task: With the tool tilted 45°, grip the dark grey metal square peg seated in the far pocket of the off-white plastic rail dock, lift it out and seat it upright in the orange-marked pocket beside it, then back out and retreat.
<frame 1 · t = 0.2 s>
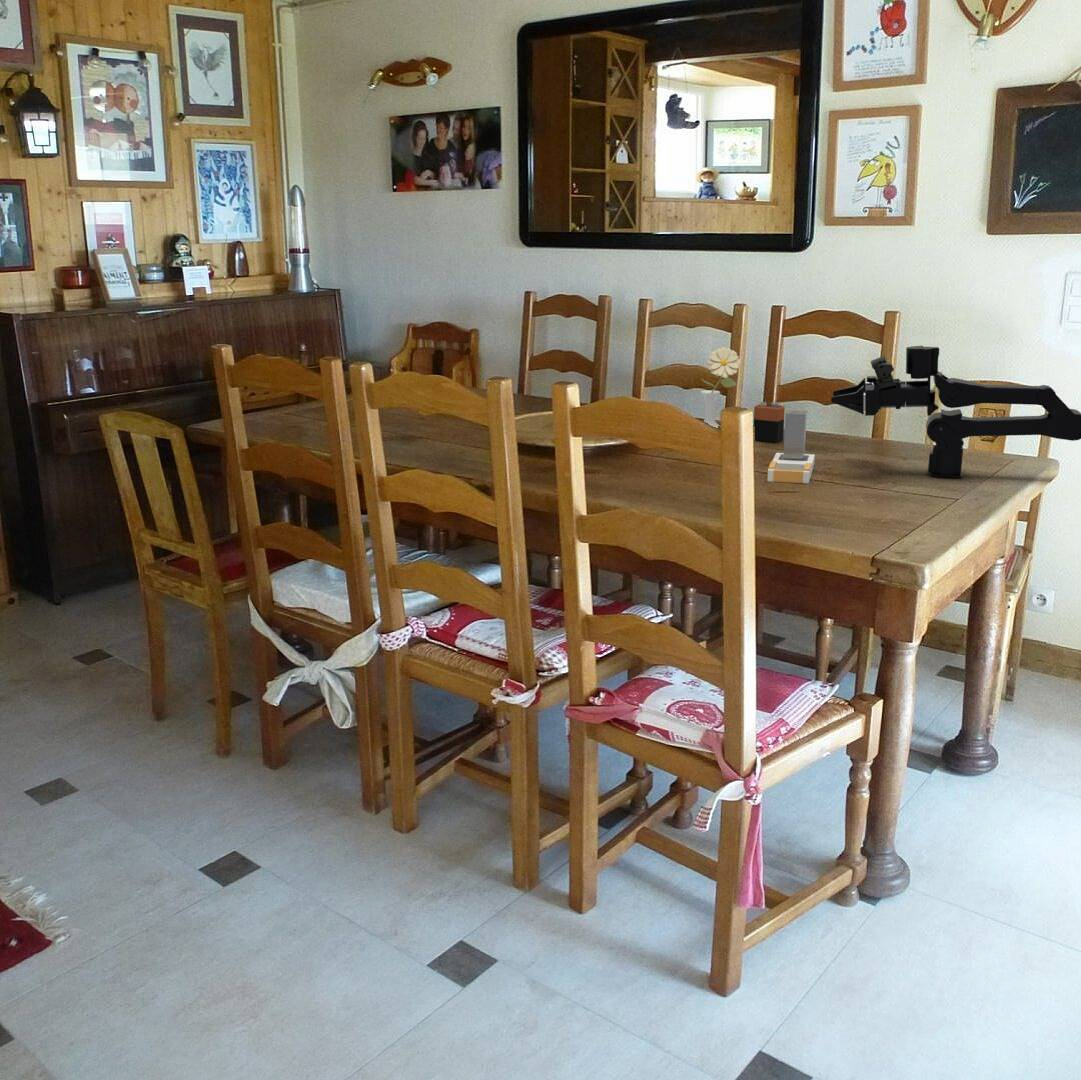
hand: (832, 396, 241), 17 cm above the table, tool horizontal, fingers open, 9 cm apart
battery: (767, 441, 278), on the table
flower in vase: (712, 446, 273), on the table
rail dock: (791, 472, 243), on the table
metal peg: (793, 468, 247), resting in rail dock
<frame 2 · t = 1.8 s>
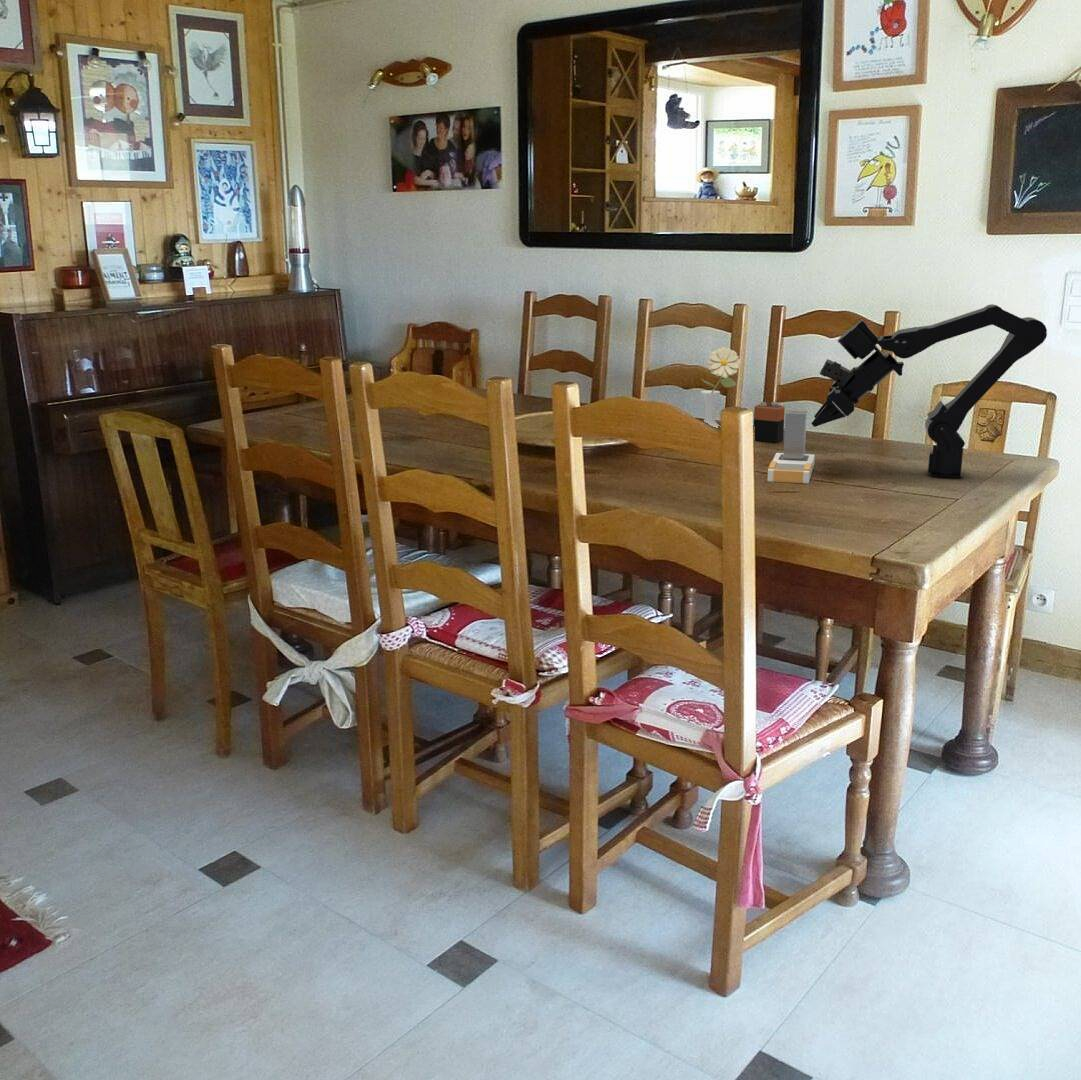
hand: (814, 421, 243), 11 cm above the table, tool tilted 45°, fingers open, 9 cm apart
nothing on the table moved.
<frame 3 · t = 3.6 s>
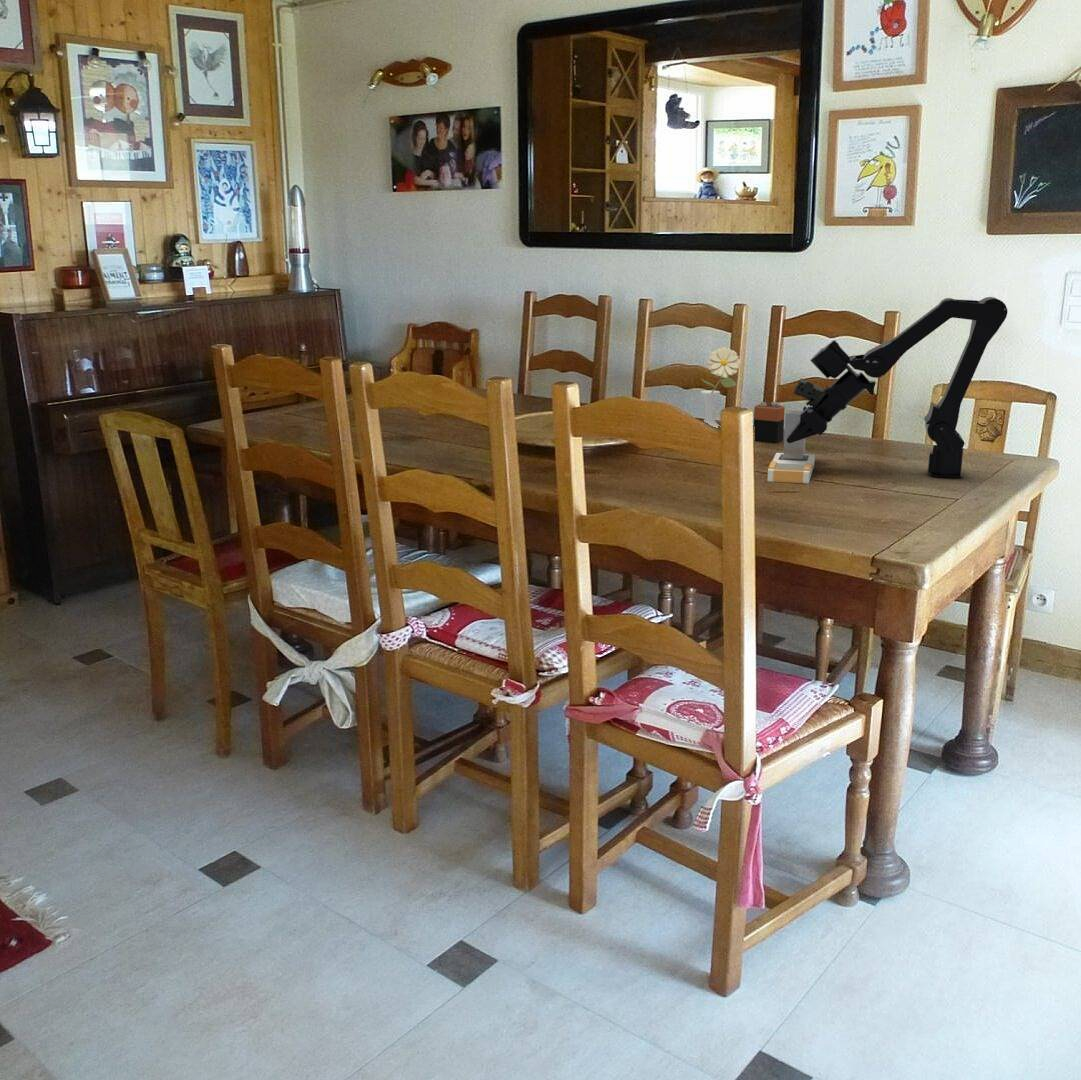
hand: (788, 439, 246), 7 cm above the table, tool tilted 45°, fingers closed on metal peg, 4 cm apart
metal peg: (793, 468, 247), resting in rail dock, touching gripper
everything else where it was.
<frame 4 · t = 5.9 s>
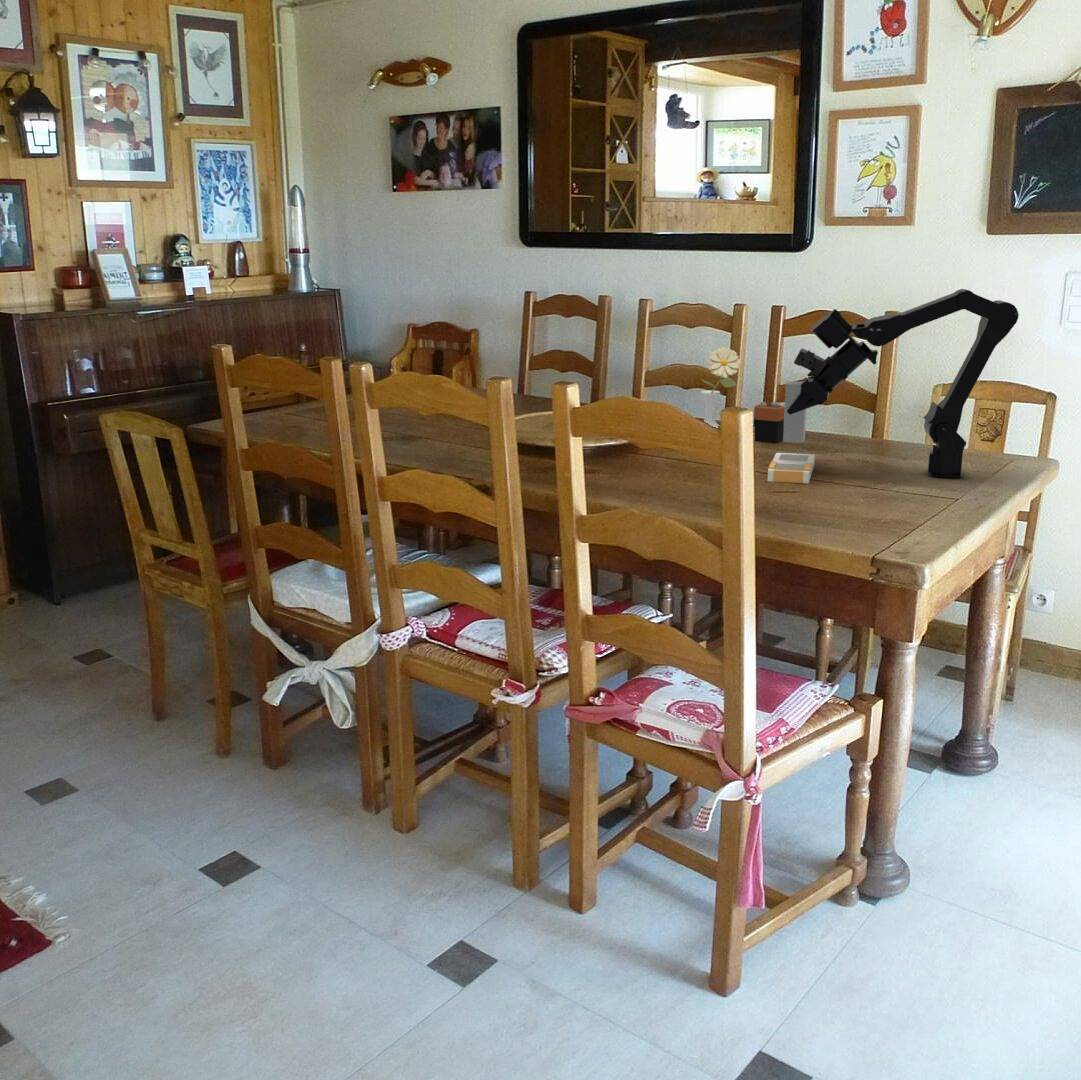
hand: (789, 411, 242), 14 cm above the table, tool tilted 45°, fingers closed on metal peg, 4 cm apart
metal peg: (794, 440, 243), point 7 cm above the table, touching gripper
everything else where it was.
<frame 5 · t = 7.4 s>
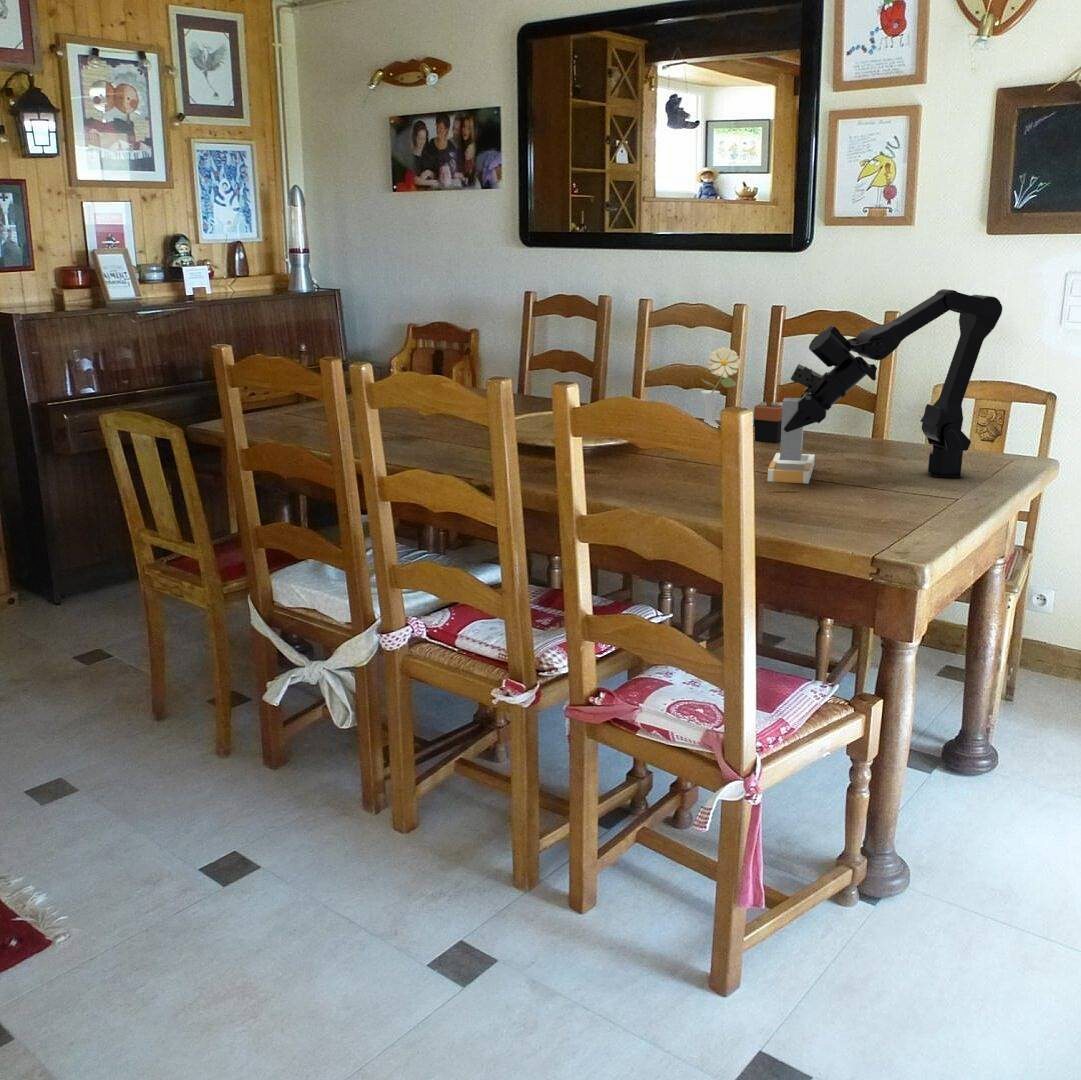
hand: (786, 428, 235), 11 cm above the table, tool tilted 45°, fingers closed on metal peg, 4 cm apart
metal peg: (791, 458, 237), point 4 cm above the table, touching gripper
everything else where it was.
when the fingers open (7 cm above the table, at t = 8.5 s): metal peg stays where it is, resting in rail dock.
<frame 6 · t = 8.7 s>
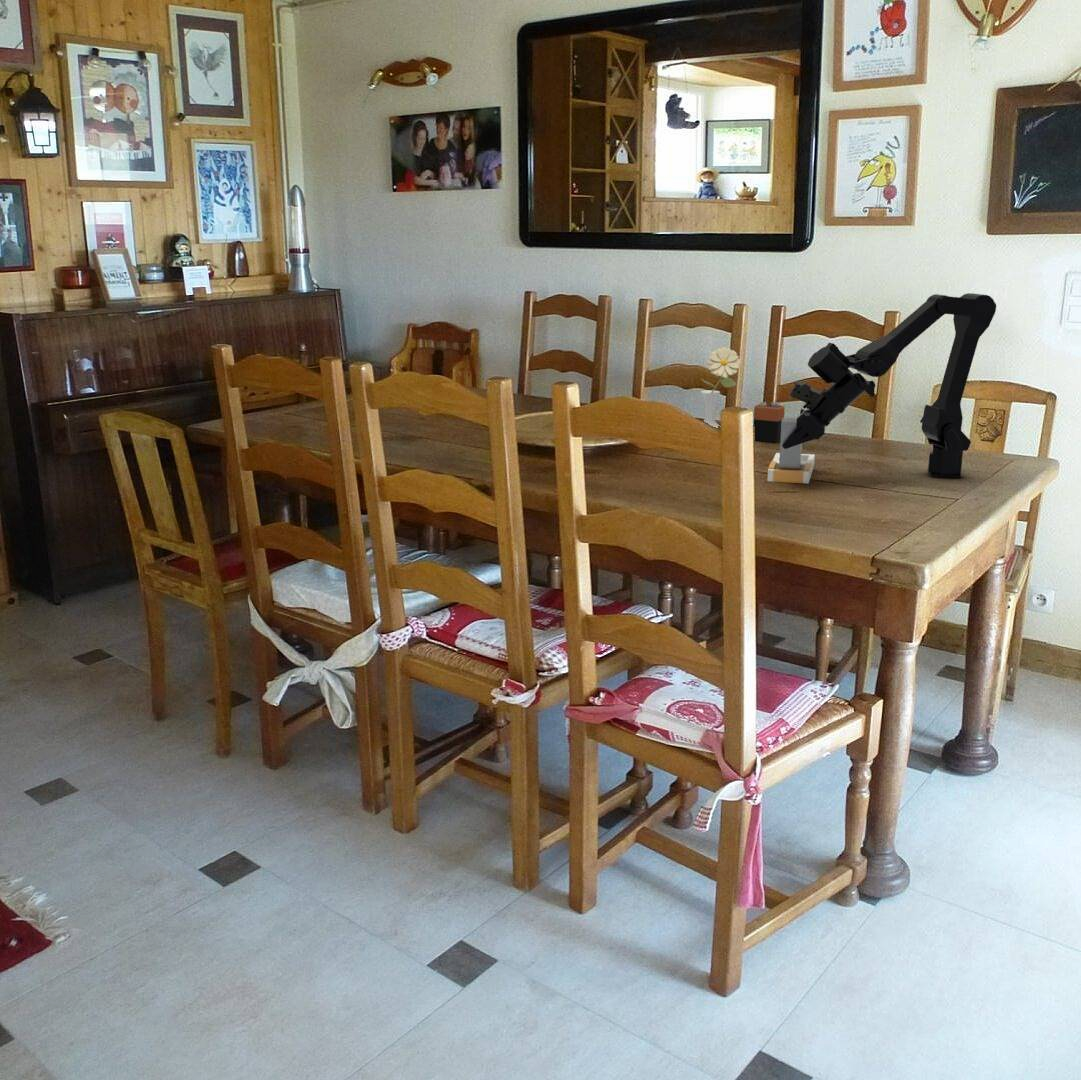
hand: (784, 444, 236), 8 cm above the table, tool tilted 45°, fingers open, 7 cm apart
metal peg: (789, 477, 238), resting in rail dock
everything else where it was.
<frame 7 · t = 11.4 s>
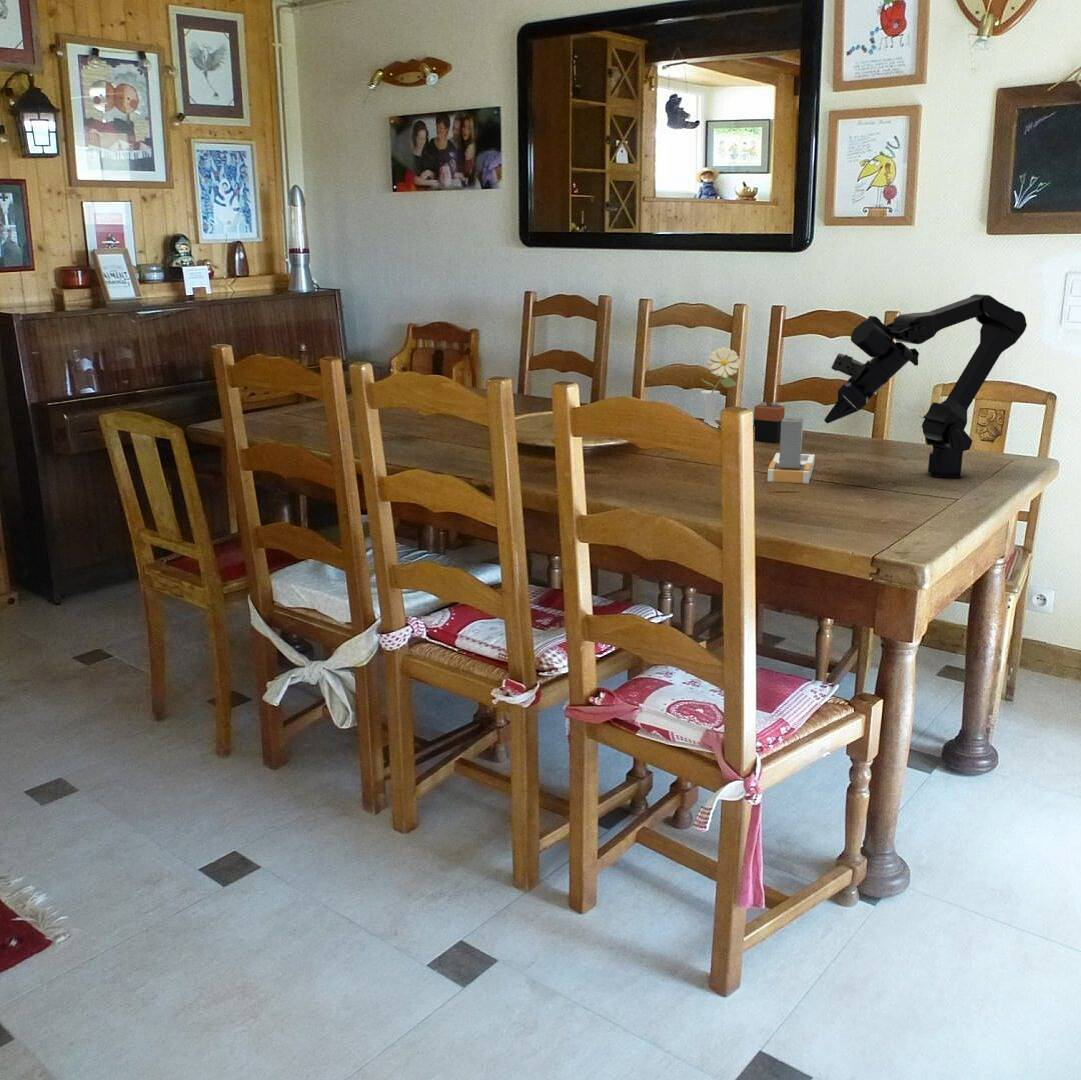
hand: (828, 418, 233), 13 cm above the table, tool tilted 40°, fingers open, 9 cm apart
nothing on the table moved.
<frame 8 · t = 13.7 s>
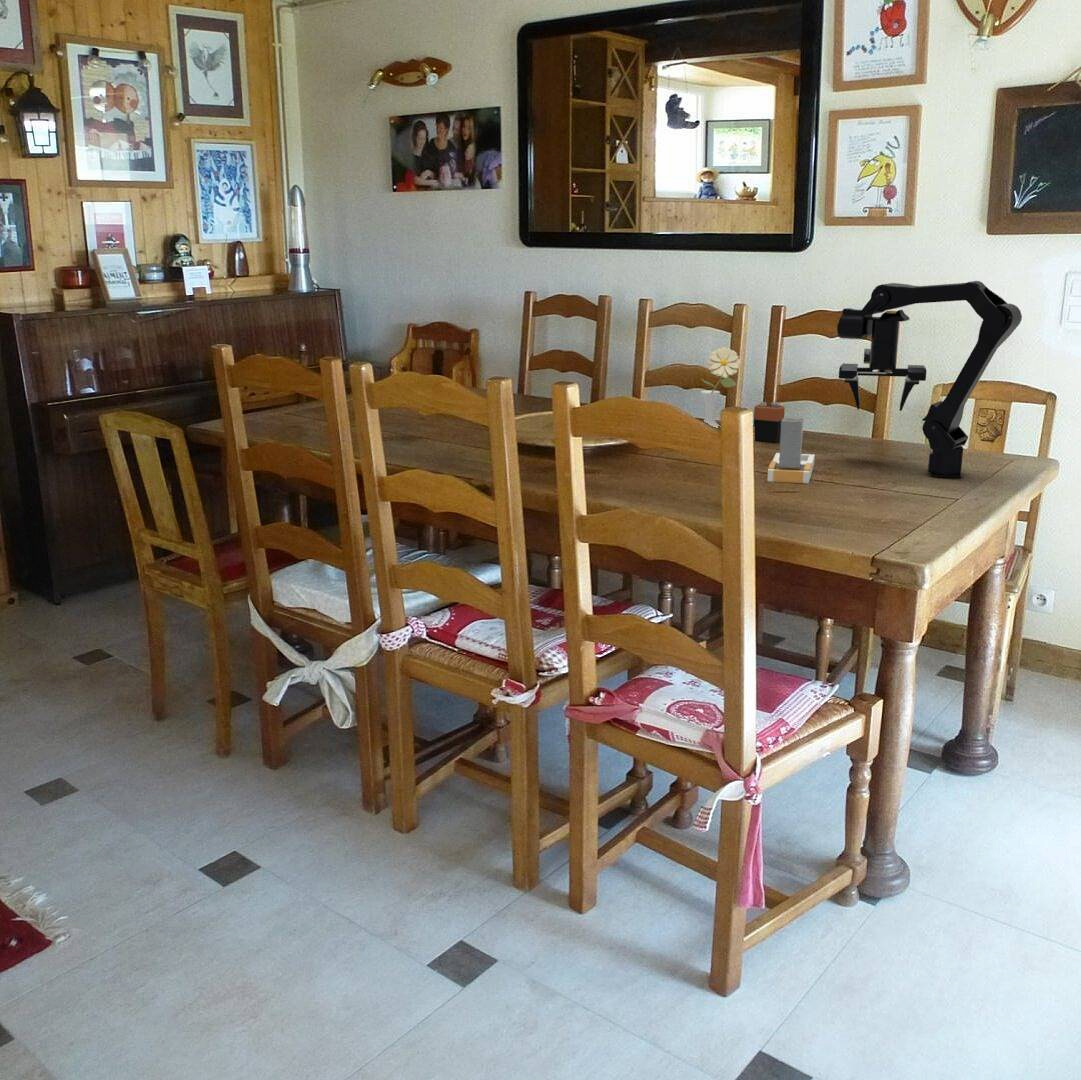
hand: (879, 409, 245), 13 cm above the table, tool pointing down, fingers open, 9 cm apart
nothing on the table moved.
at the end: metal peg 0.1 cm from the target spot on the rail dock, point 0.0 cm above the rail dock's base; metal peg tilted 0°; the gripper is holding nothing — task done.
